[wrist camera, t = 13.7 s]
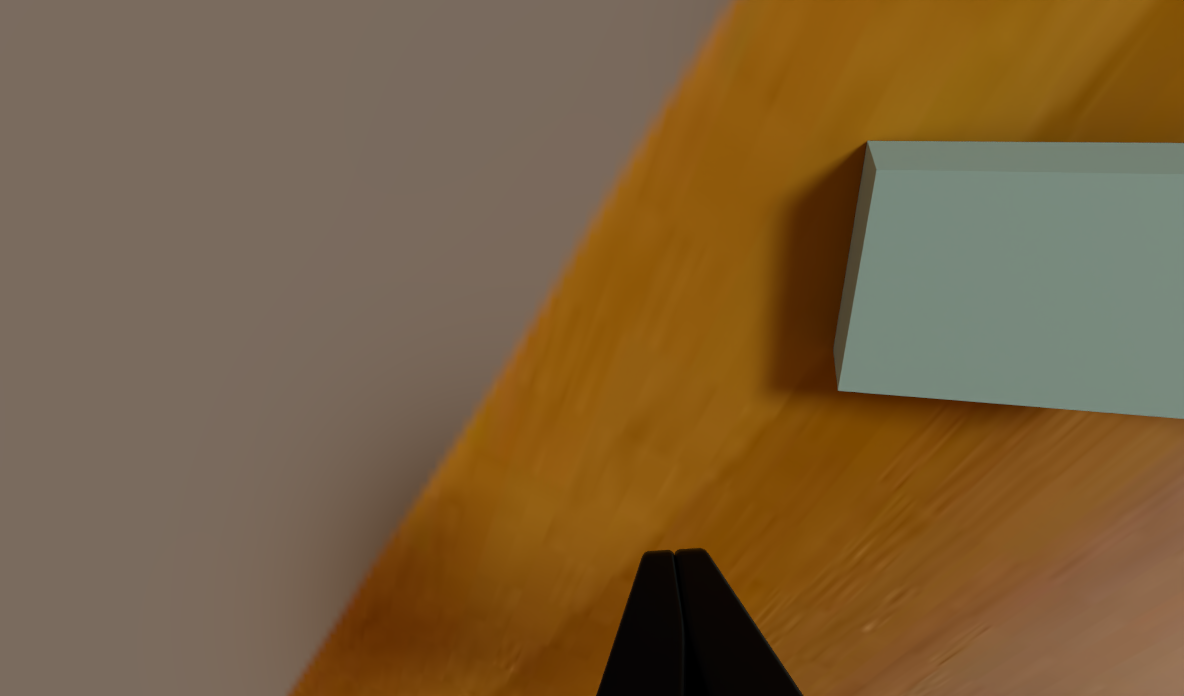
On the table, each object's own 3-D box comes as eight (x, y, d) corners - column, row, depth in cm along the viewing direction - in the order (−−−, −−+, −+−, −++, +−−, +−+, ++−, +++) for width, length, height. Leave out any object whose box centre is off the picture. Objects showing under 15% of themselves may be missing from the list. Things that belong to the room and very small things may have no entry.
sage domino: (867, 140, 14) (1359, 144, 12) (832, 349, 16) (1227, 376, 15) (876, 169, 12) (1430, 178, 11) (837, 390, 15) (1269, 426, 13)
